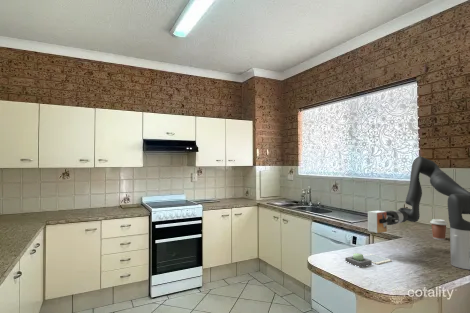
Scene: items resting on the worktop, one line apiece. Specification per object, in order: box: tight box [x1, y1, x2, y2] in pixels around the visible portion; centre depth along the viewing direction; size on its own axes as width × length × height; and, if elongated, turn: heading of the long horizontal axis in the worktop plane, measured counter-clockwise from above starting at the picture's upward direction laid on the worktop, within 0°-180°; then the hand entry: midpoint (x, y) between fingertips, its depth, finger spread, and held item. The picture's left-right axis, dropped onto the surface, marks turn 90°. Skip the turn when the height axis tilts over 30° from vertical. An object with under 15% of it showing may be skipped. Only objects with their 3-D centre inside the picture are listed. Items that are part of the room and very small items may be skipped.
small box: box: [367, 209, 388, 234], centre depth 145 cm, size 8×6×10 cm
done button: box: [352, 252, 364, 261], centre depth 129 cm, size 4×4×2 cm
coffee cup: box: [429, 218, 449, 241], centre depth 177 cm, size 9×9×12 cm
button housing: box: [344, 255, 373, 268], centre depth 129 cm, size 8×8×2 cm
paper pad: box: [363, 253, 393, 266], centre depth 134 cm, size 11×11×1 cm
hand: (374, 220), depth 143 cm, fingers closed on small box, 6 cm apart
